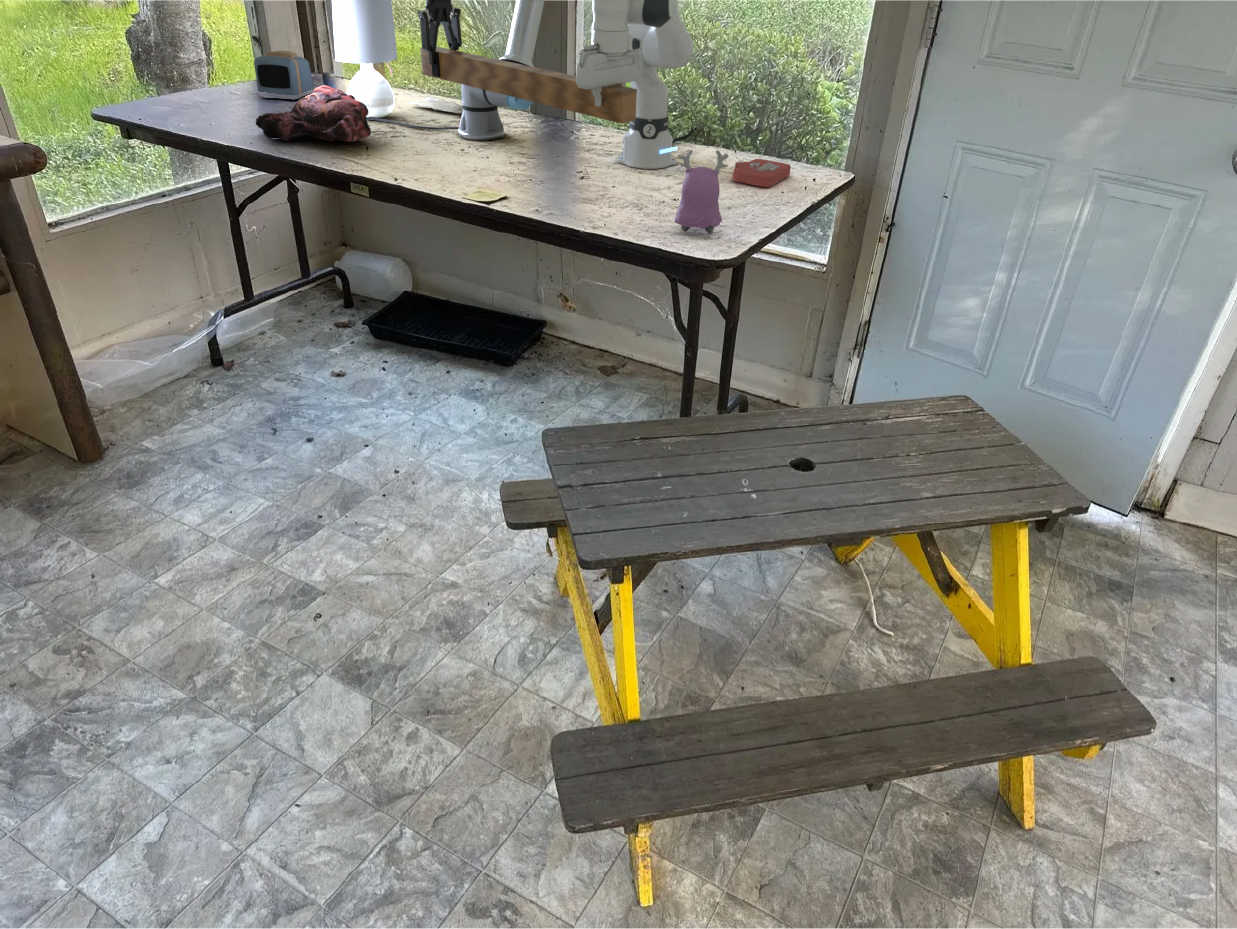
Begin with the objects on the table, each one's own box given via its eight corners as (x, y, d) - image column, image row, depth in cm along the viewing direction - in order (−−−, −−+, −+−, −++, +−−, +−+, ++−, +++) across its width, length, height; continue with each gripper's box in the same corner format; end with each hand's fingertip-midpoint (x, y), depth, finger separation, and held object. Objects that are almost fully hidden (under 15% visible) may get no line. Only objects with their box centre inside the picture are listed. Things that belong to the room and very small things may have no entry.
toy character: (721, 226, 217) (729, 145, 206) (721, 240, 208) (729, 156, 197) (673, 223, 218) (679, 142, 207) (671, 236, 209) (677, 153, 198)
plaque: (748, 154, 263) (793, 162, 256) (746, 167, 265) (791, 175, 258) (722, 166, 250) (769, 175, 244) (721, 179, 252) (767, 189, 246)
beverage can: (339, 109, 314) (334, 74, 307) (318, 108, 314) (312, 73, 307) (346, 104, 321) (341, 69, 314) (325, 103, 321) (320, 69, 314)
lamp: (416, 115, 310) (403, -11, 287) (372, 125, 294) (355, -7, 272) (373, 106, 319) (358, -16, 296) (328, 116, 304) (309, -13, 281)
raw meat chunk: (388, 148, 274) (381, 105, 266) (300, 168, 259) (290, 124, 251) (331, 115, 299) (323, 75, 291) (247, 132, 285) (236, 91, 276)
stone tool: (407, 106, 321) (455, 116, 310) (406, 98, 320) (455, 108, 308) (428, 102, 329) (476, 112, 317) (427, 94, 327) (475, 104, 316)
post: (422, 74, 250) (420, 47, 245) (436, 72, 253) (434, 45, 249) (621, 123, 207) (622, 91, 203) (635, 120, 210) (636, 88, 206)
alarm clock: (257, 98, 324) (248, 53, 316) (278, 90, 338) (270, 46, 329) (297, 101, 323) (289, 55, 314) (317, 93, 336) (310, 49, 327)
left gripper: (419, -13, 226) (427, 81, 239) (471, -17, 238) (477, 73, 251) (401, -16, 230) (411, 77, 243) (454, -19, 242) (460, 70, 255)
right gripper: (589, 48, 194) (589, 112, 202) (647, 40, 207) (644, 100, 215) (569, 44, 198) (570, 107, 205) (627, 37, 211) (625, 96, 218)
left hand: (444, 75), depth 247 cm, fingers closed on post, 5 cm apart
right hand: (608, 104), depth 210 cm, fingers closed on post, 5 cm apart
